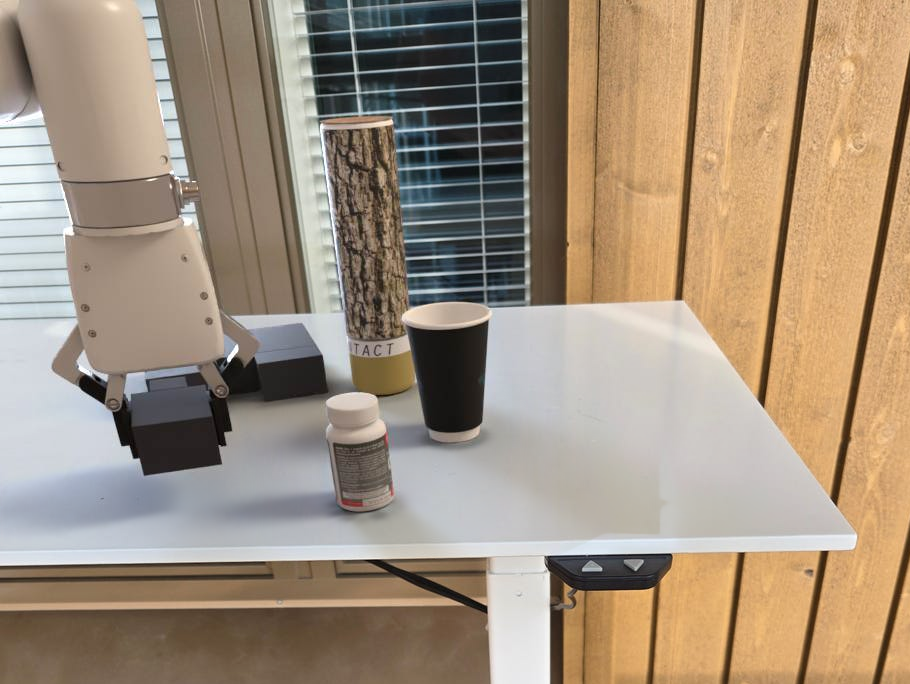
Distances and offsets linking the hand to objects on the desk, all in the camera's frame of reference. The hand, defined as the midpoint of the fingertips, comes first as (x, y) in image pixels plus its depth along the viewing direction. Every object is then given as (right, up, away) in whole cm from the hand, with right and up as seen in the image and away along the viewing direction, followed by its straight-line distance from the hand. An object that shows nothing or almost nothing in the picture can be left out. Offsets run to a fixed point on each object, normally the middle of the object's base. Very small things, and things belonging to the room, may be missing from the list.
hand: (179, 444), depth 72 cm
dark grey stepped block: (0, 0, +1) cm, 2 cm away
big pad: (-2, +12, +26) cm, 29 cm away
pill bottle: (+15, -5, 0) cm, 16 cm away
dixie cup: (+22, +3, +11) cm, 25 cm away
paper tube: (+14, +11, +23) cm, 30 cm away
